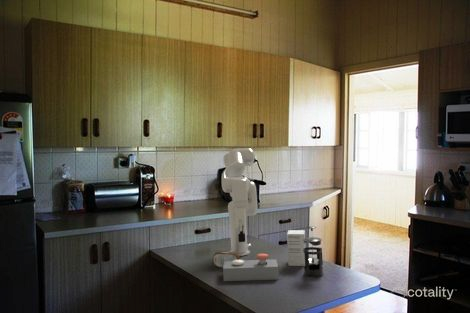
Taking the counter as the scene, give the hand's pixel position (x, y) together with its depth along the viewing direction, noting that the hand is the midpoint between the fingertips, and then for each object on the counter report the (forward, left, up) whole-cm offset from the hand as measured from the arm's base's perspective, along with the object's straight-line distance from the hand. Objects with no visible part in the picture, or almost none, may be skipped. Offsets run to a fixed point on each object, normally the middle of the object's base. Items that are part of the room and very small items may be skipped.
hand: (242, 241), depth 189 cm
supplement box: (-31, +13, -17) cm, 38 cm away
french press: (-20, +28, -17) cm, 39 cm away
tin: (-7, -16, -17) cm, 25 cm away
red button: (-6, +8, -12) cm, 16 cm away
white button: (+1, -2, -15) cm, 15 cm away
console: (-2, +3, -17) cm, 17 cm away
